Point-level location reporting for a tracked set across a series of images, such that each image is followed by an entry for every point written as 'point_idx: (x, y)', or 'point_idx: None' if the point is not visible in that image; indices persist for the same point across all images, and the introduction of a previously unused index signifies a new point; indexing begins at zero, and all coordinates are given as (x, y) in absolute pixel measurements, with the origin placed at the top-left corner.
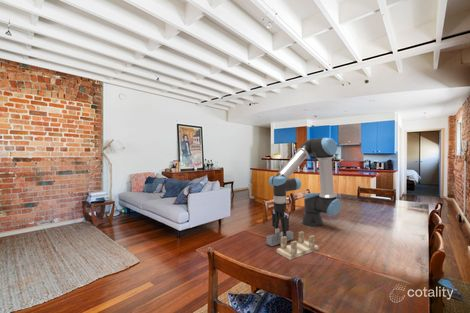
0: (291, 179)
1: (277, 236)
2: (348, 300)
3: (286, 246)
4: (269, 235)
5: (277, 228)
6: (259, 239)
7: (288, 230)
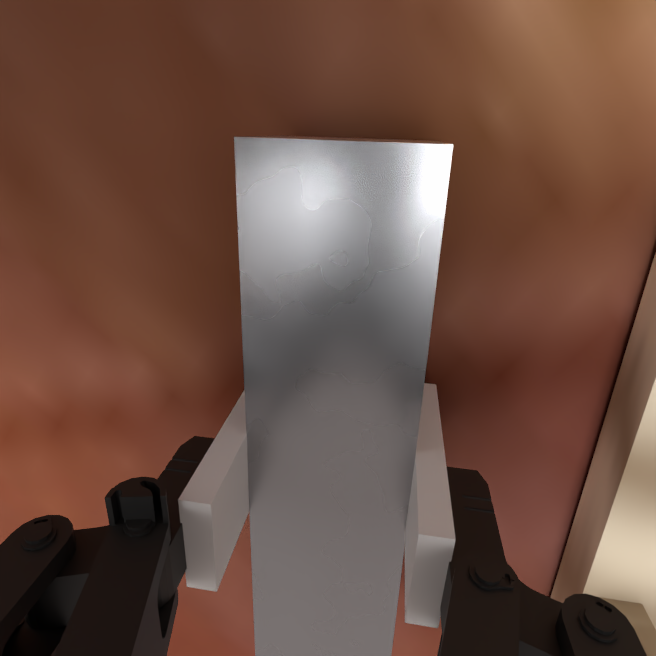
0: None
1: (380, 599)
2: None
3: (651, 624)
4: (261, 645)
5: (200, 546)
6: (104, 510)
7: (619, 627)
